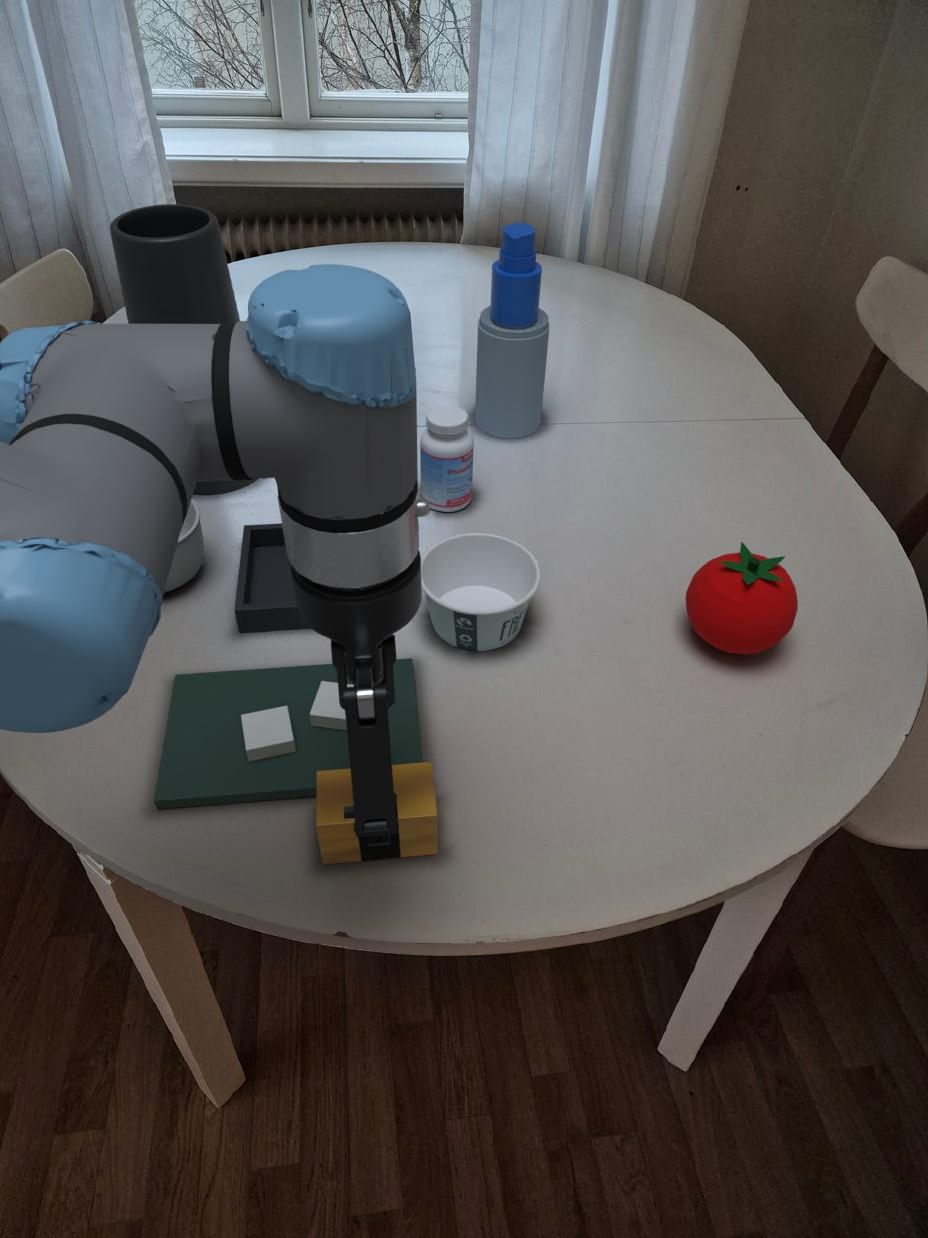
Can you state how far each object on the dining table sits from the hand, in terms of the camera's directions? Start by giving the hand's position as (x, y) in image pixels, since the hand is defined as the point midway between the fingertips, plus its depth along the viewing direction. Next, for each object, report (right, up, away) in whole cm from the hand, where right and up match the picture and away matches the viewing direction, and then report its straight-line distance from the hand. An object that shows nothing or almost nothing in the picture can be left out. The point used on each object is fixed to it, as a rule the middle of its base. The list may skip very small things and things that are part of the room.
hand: (376, 774), depth 64 cm
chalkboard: (-9, +1, +13) cm, 15 cm away
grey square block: (-10, +1, +11) cm, 15 cm away
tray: (-12, +15, +27) cm, 33 cm away
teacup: (-27, +15, +27) cm, 41 cm away
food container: (+8, +11, +24) cm, 27 cm away
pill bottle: (+4, +26, +39) cm, 47 cm away
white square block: (-5, +3, +13) cm, 14 cm away
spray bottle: (+12, +38, +52) cm, 66 cm away
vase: (-25, +31, +43) cm, 58 cm away
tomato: (+33, +10, +23) cm, 41 cm away
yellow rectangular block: (0, -6, +5) cm, 8 cm away
